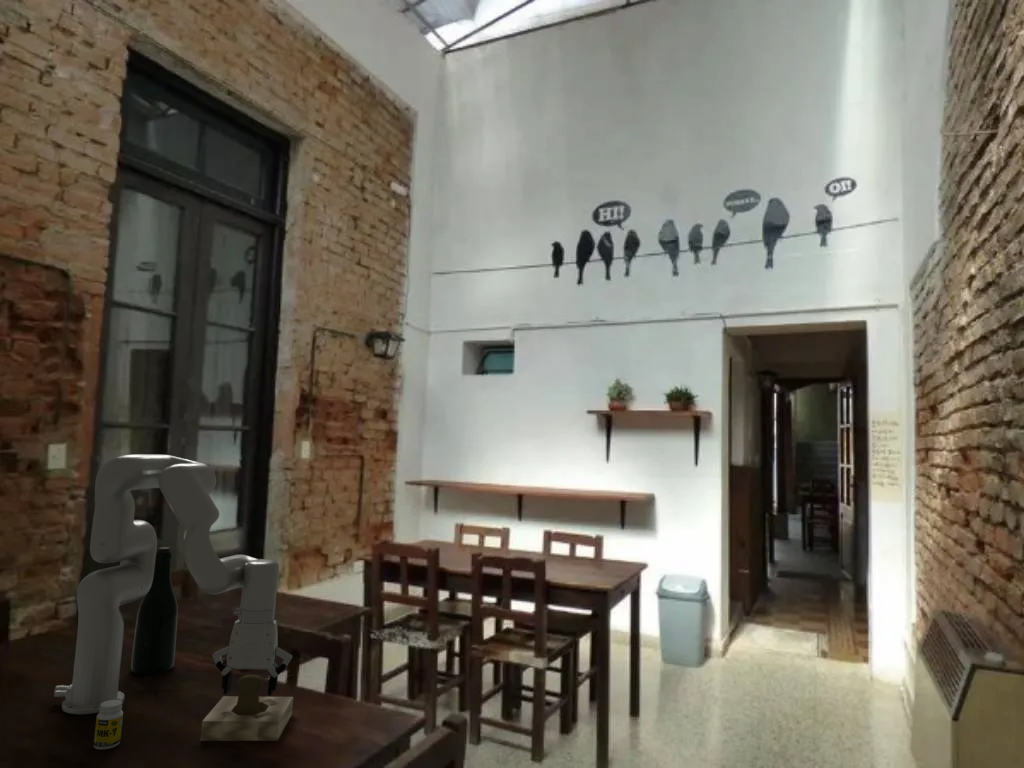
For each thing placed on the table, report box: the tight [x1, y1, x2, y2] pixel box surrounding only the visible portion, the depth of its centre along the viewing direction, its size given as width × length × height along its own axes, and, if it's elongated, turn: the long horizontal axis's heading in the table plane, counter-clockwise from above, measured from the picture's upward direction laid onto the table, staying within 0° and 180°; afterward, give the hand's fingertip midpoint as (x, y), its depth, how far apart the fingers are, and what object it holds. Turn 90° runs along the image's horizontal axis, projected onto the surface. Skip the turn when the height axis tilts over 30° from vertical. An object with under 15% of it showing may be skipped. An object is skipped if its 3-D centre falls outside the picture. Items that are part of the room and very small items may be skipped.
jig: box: [199, 695, 294, 742], centre depth 148 cm, size 16×14×4 cm
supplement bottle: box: [93, 700, 124, 751], centre depth 137 cm, size 5×5×8 cm
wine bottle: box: [130, 546, 179, 676], centre depth 183 cm, size 10×10×33 cm
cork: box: [235, 674, 263, 715], centre depth 149 cm, size 6×6×11 cm
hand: (248, 692), depth 149 cm, fingers open, 9 cm apart
